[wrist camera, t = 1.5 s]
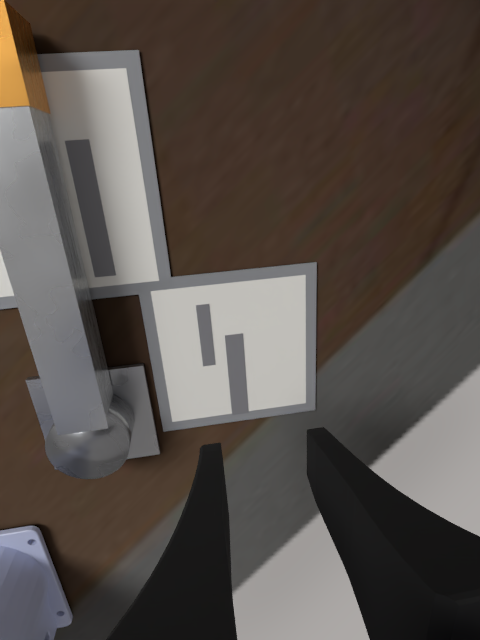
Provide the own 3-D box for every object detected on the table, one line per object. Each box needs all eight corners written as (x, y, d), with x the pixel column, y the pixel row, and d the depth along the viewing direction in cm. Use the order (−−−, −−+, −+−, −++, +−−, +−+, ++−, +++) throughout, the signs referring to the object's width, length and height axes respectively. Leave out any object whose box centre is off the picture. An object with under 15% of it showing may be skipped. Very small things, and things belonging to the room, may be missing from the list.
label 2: (314, 409, 23) (315, 410, 23) (163, 430, 22) (163, 432, 22) (316, 262, 20) (316, 262, 20) (136, 280, 19) (136, 281, 19)
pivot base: (160, 450, 23) (160, 454, 23) (56, 466, 22) (55, 469, 22) (143, 362, 21) (143, 365, 20) (27, 377, 20) (25, 380, 20)
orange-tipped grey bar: (139, 443, 22) (135, 473, 20) (68, 454, 22) (56, 485, 20) (50, 23, 14) (28, -2, 12) (-63, 26, 14) (-106, 2, 12)
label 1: (172, 290, 19) (172, 291, 19) (-41, 313, 18) (-43, 313, 18) (138, 50, 15) (138, 49, 15) (-136, 62, 14) (-138, 61, 14)
